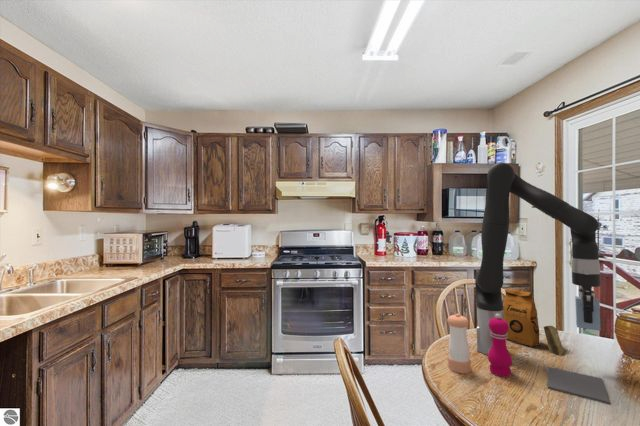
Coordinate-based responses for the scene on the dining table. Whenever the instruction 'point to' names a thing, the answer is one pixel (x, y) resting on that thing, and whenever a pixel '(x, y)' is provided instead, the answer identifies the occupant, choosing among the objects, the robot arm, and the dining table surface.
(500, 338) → the pepper mill
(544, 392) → the dining table surface
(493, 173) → the robot arm
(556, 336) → the rock
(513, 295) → the coffee package
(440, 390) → the dining table surface
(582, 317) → the block
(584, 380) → the mat
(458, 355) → the pepper shaker
